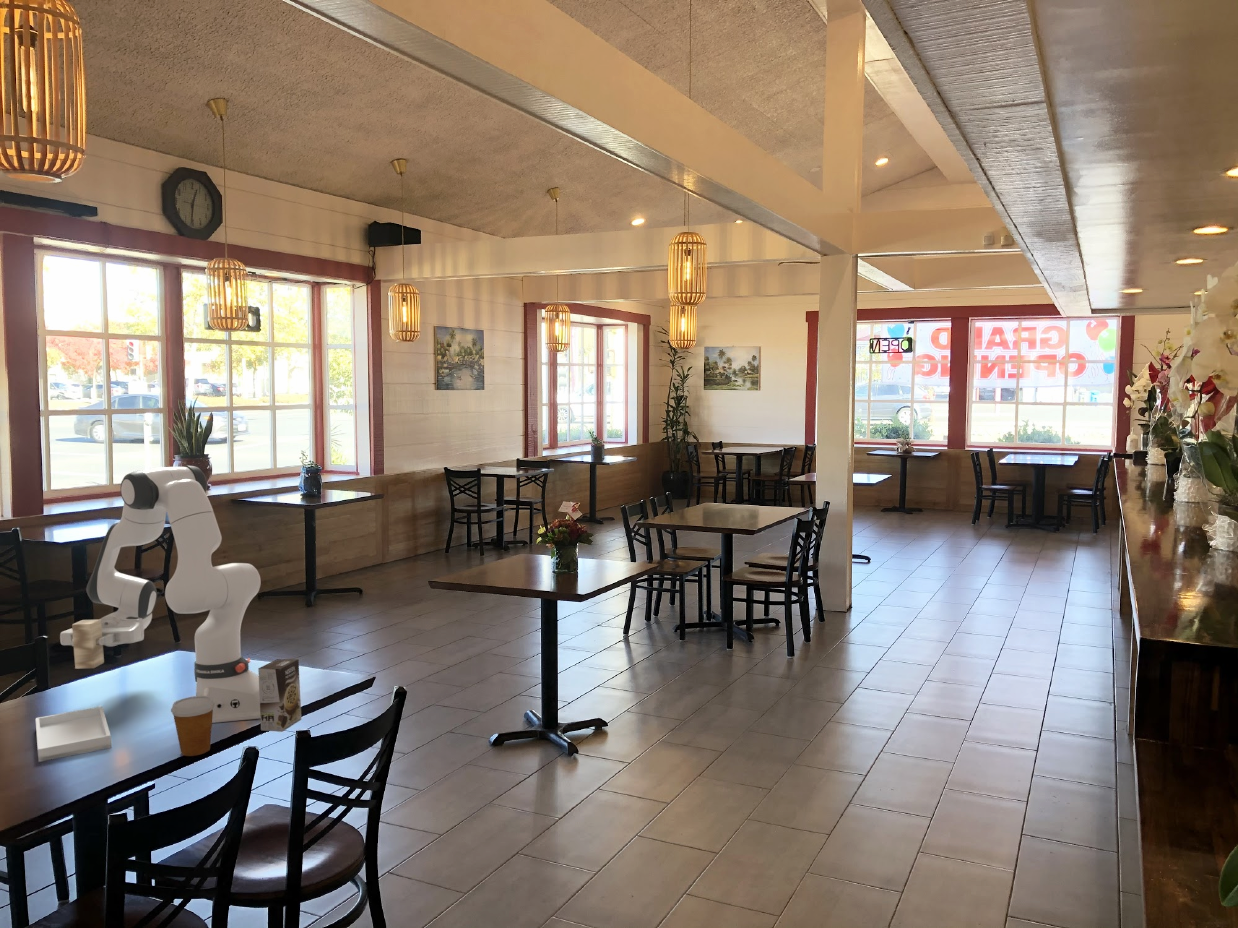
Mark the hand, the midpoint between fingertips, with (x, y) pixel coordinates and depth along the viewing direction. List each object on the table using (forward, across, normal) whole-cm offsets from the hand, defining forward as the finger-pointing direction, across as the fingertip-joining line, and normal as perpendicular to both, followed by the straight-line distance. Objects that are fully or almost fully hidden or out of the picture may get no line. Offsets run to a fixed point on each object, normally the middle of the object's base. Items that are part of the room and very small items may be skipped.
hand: (86, 642), depth 253 cm
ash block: (-1, 0, +6) cm, 7 cm away
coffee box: (+15, +56, +19) cm, 61 cm away
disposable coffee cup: (+31, +41, +19) cm, 55 cm away
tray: (+20, +6, +19) cm, 28 cm away
